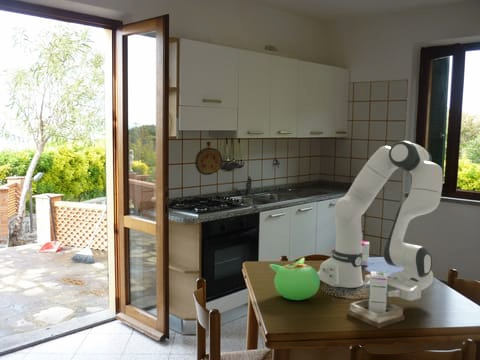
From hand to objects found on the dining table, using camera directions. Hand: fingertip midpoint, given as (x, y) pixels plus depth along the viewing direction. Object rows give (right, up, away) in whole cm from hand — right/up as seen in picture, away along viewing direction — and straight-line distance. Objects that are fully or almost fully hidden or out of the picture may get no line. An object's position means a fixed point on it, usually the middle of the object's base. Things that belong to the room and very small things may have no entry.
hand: (376, 290), depth 165 cm
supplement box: (+12, -3, +66) cm, 67 cm away
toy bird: (-27, -7, +18) cm, 33 cm away
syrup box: (0, -9, +1) cm, 9 cm away
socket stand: (0, -10, +1) cm, 10 cm away
